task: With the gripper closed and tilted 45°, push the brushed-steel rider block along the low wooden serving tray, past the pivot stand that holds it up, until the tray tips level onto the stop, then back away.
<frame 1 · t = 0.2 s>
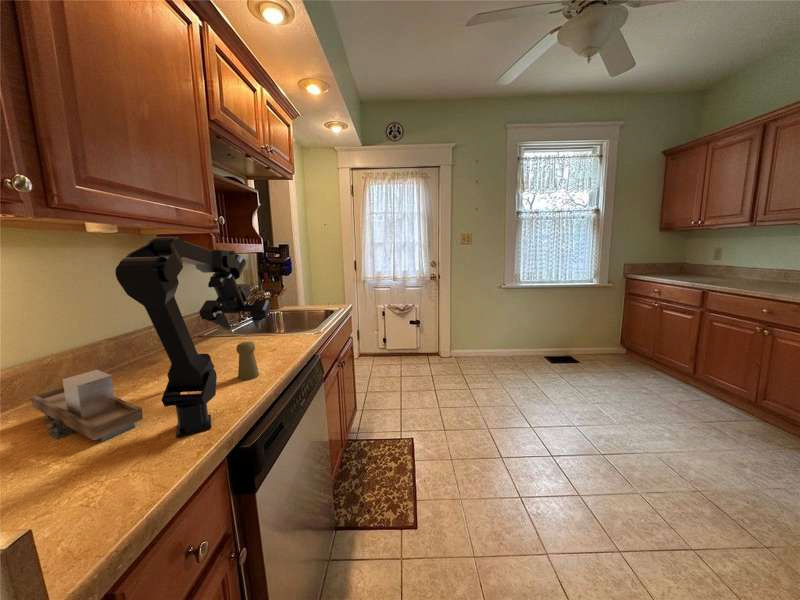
hand: (244, 329, 100), 15 cm above the worktop, tool tilted 30°, fingers open, 9 cm apart
cork: (248, 377, 100), on the worktop
wooden serving tray: (86, 407, 74), point 4 cm above the worktop, hinge at -5.4°, touching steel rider
screw: (188, 386, 94), on the worktop
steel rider: (92, 410, 73), point 4 cm above the worktop, tilted 5°, touching wooden serving tray
pivot stand: (89, 423, 74), on the worktop
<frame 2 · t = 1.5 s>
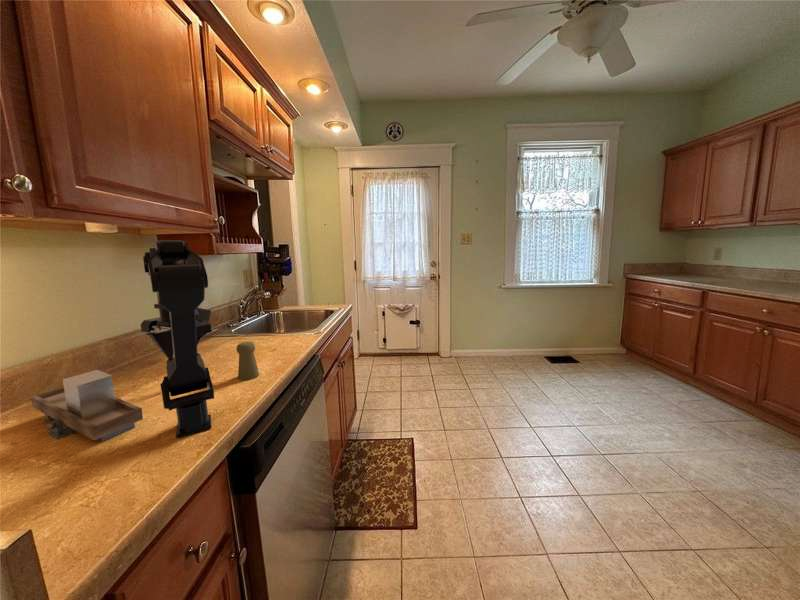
hand: (180, 359, 81), 12 cm above the worktop, tool pointing down, fingers open, 8 cm apart
nothing on the worktop moved.
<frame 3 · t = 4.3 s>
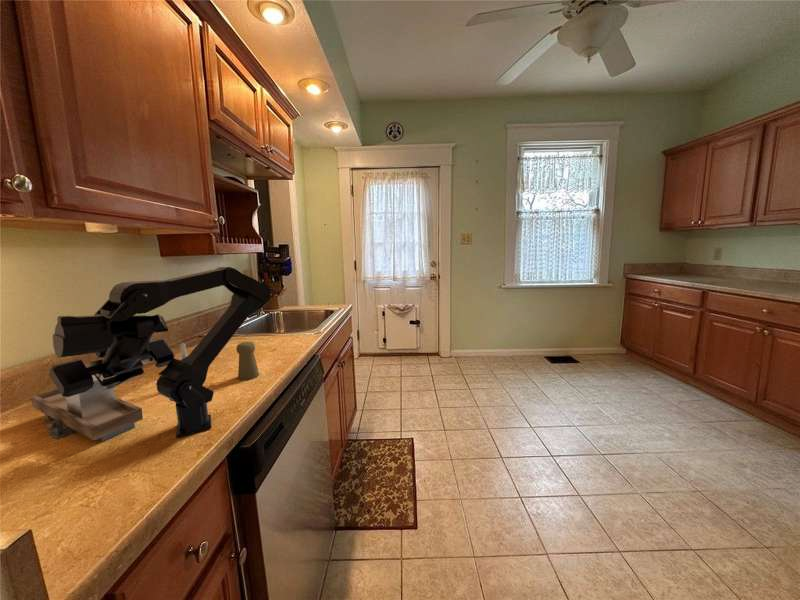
hand: (108, 386, 68), 11 cm above the worktop, tool tilted 45°, fingers closed
wooden serving tray: (86, 407, 74), point 4 cm above the worktop, hinge at -5.4°
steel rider: (92, 410, 73), point 4 cm above the worktop, tilted 5°
everything else where it was.
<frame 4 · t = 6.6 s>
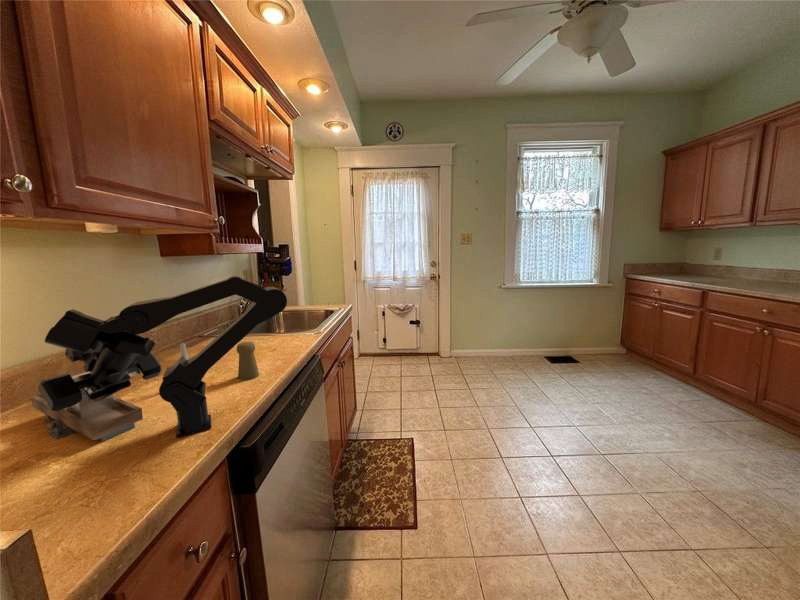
hand: (96, 399, 71), 7 cm above the worktop, tool tilted 45°, fingers closed, pressing on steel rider
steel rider: (91, 409, 73), point 4 cm above the worktop, tilted 5°, touching gripper
everything else where it was.
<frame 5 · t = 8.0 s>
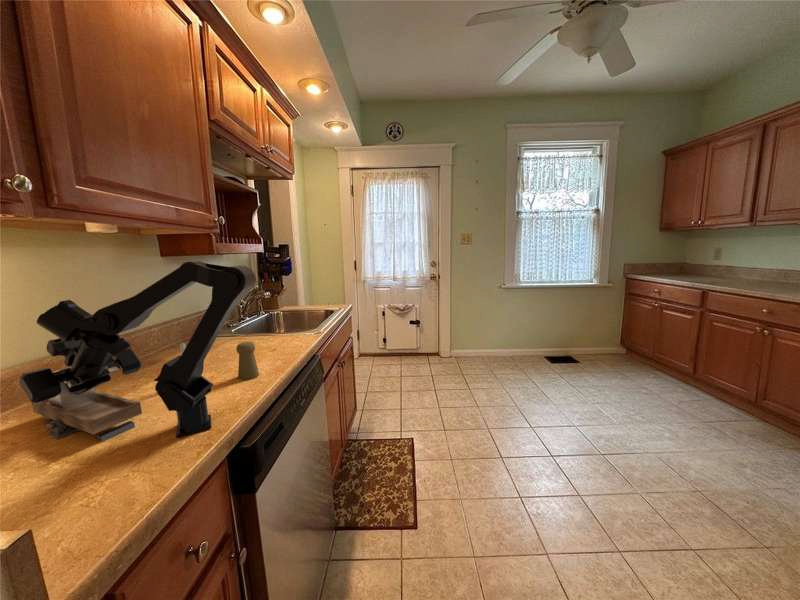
hand: (77, 392, 74), 7 cm above the worktop, tool tilted 45°, fingers closed, pressing on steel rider
wooden serving tray: (86, 407, 74), point 4 cm above the worktop, hinge at 0.7°
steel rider: (73, 403, 76), point 4 cm above the worktop, touching gripper
everything else where it was.
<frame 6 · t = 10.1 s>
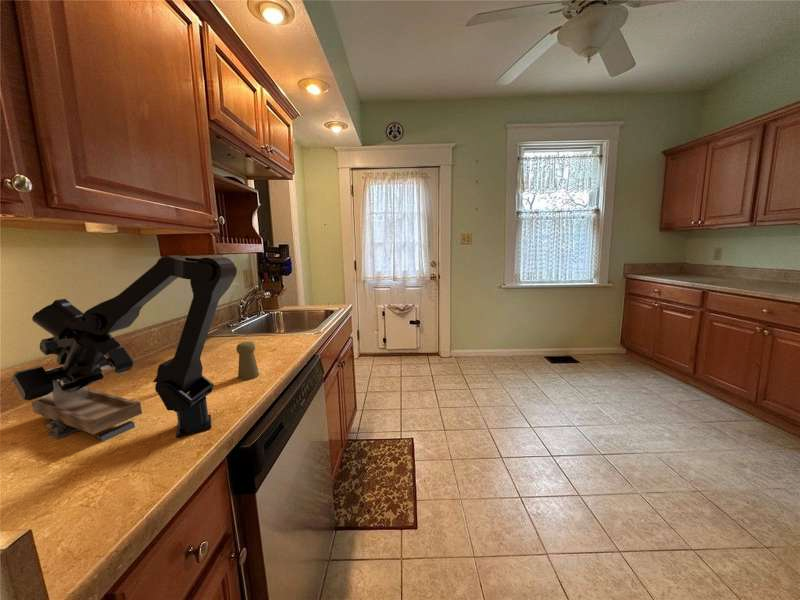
hand: (71, 390, 75), 7 cm above the worktop, tool tilted 45°, fingers closed
wooden serving tray: (86, 407, 74), point 4 cm above the worktop, hinge at 0.7°, touching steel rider
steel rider: (66, 401, 77), point 4 cm above the worktop, touching gripper, wooden serving tray
everything else where it was.
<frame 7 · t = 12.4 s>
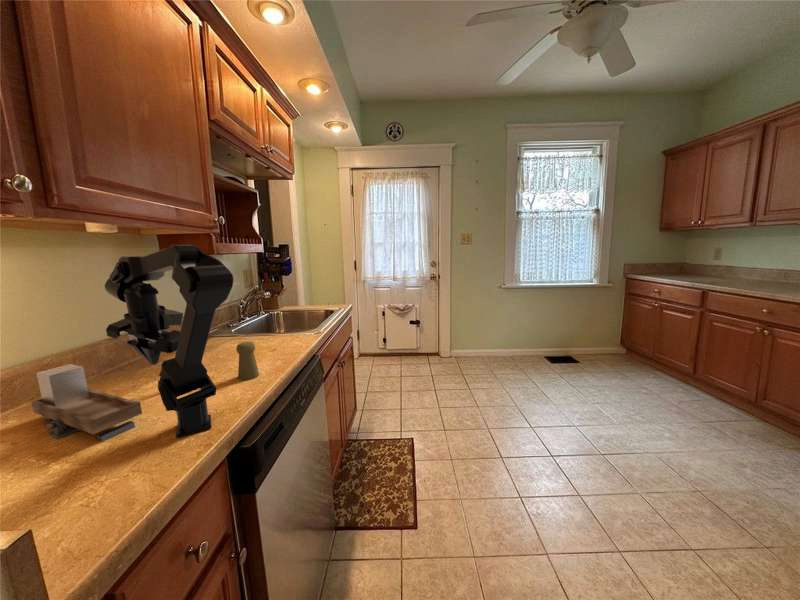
hand: (154, 363, 81), 11 cm above the worktop, tool tilted 15°, fingers closed
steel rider: (66, 401, 77), point 4 cm above the worktop, touching wooden serving tray
everything else where it was.
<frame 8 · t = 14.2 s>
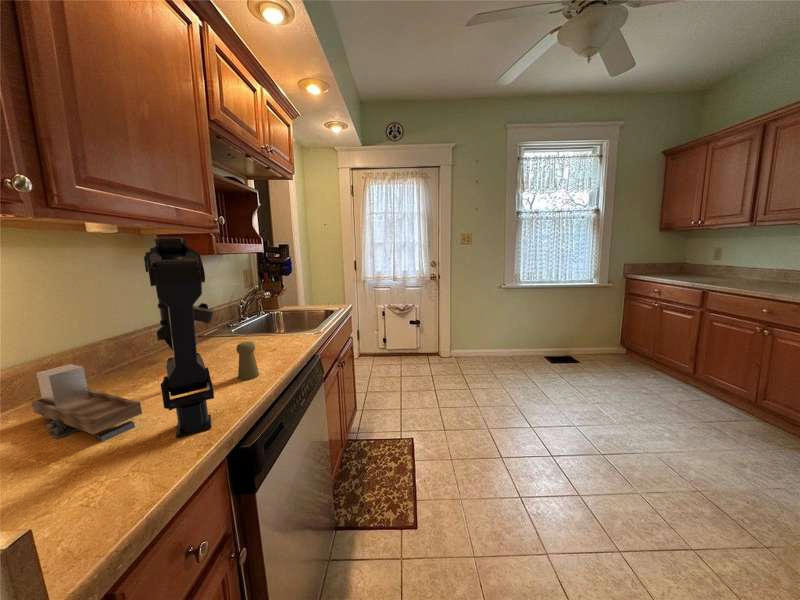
hand: (180, 357, 82), 12 cm above the worktop, tool pointing down, fingers closed
nothing on the worktop moved.
at the end: wooden serving tray at +1° (first picture: -5°); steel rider 0.6 cm from the target spot on the wooden serving tray, point 1.4 cm above the wooden serving tray's base; the gripper is holding nothing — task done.
